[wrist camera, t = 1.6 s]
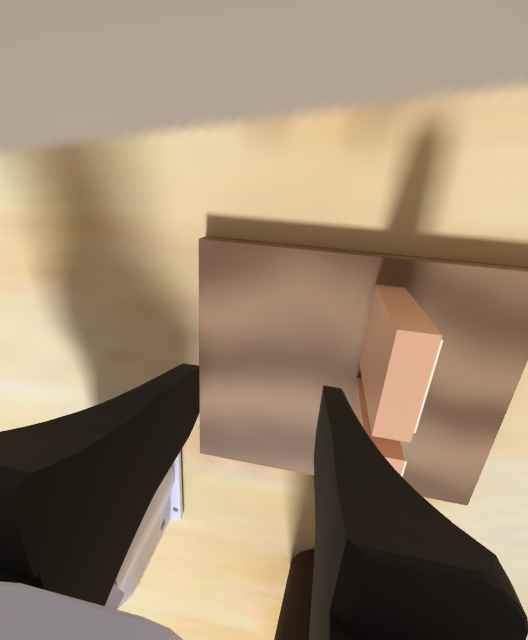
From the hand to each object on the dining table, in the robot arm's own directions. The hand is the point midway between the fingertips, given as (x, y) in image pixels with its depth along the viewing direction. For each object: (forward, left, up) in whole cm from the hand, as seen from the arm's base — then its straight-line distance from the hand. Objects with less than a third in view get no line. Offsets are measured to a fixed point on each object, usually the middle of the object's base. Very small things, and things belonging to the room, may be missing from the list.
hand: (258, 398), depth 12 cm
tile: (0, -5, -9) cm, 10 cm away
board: (-4, -4, -10) cm, 11 cm away
